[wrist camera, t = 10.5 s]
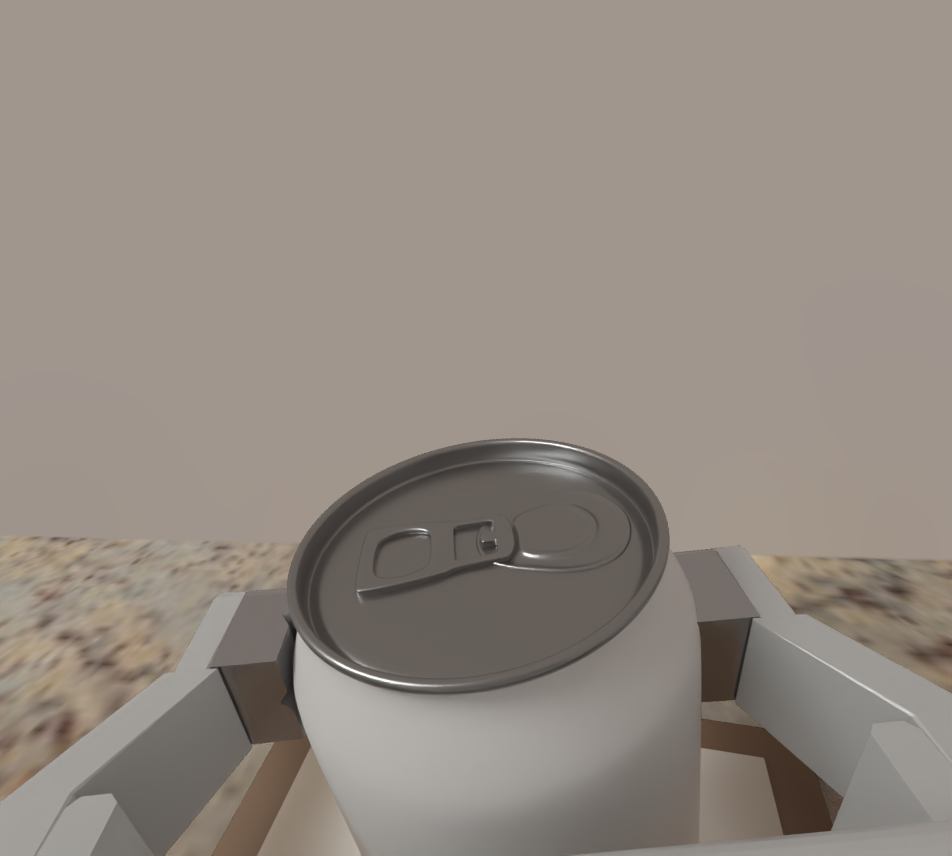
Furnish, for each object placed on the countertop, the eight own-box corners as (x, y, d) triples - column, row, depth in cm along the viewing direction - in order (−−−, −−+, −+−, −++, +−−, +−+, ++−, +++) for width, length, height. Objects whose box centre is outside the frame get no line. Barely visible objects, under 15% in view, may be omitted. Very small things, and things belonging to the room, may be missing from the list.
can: (754, 1099, 10) (825, 663, 5) (423, 1154, 10) (165, 780, 5) (639, 763, 16) (617, 404, 11) (429, 800, 16) (310, 460, 11)
